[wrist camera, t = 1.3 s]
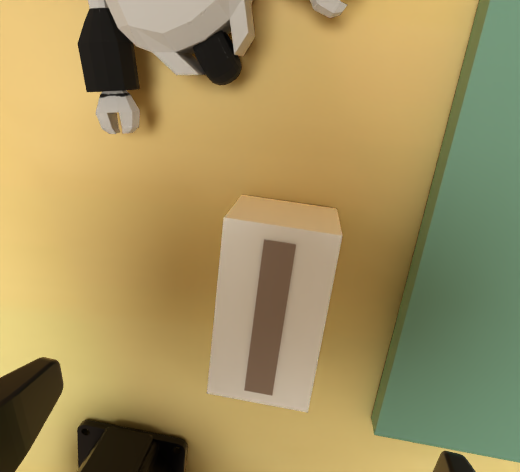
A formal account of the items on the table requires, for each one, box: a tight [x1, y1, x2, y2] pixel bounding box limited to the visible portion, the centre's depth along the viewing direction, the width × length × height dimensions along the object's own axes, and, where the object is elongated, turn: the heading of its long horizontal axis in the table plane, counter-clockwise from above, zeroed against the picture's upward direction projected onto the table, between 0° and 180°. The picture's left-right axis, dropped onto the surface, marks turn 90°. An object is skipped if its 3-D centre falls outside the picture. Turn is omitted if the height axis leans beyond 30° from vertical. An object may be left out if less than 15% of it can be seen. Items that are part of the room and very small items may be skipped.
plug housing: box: [207, 195, 342, 412], centre depth 18 cm, size 8×4×4 cm, turn 173°
